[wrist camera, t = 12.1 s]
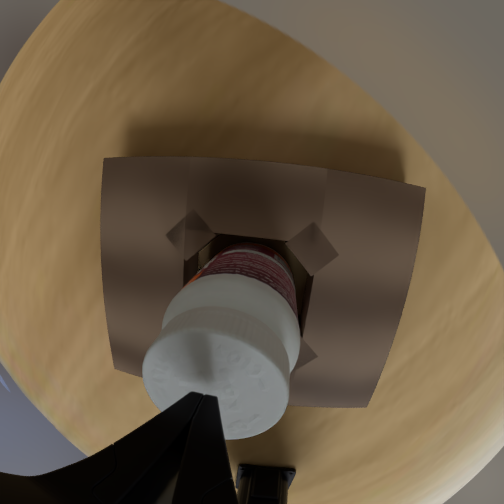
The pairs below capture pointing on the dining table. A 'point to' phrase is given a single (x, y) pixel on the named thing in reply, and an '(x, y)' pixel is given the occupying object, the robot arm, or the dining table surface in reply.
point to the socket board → (271, 227)
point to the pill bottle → (230, 339)
